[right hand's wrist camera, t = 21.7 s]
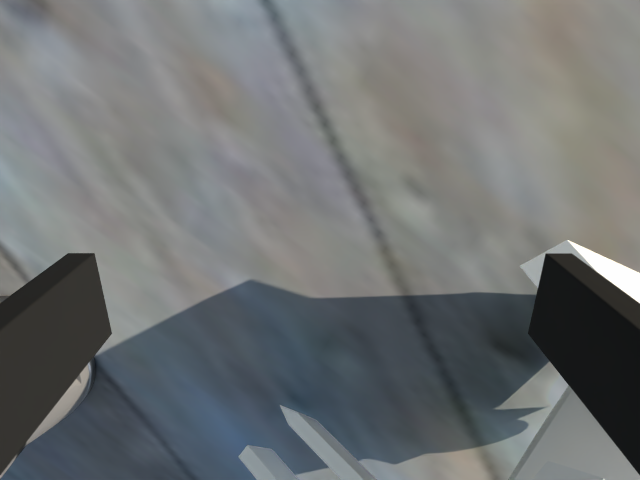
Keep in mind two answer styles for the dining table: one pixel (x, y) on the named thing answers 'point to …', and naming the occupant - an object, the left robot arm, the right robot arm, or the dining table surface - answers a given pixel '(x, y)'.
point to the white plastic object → (545, 449)
